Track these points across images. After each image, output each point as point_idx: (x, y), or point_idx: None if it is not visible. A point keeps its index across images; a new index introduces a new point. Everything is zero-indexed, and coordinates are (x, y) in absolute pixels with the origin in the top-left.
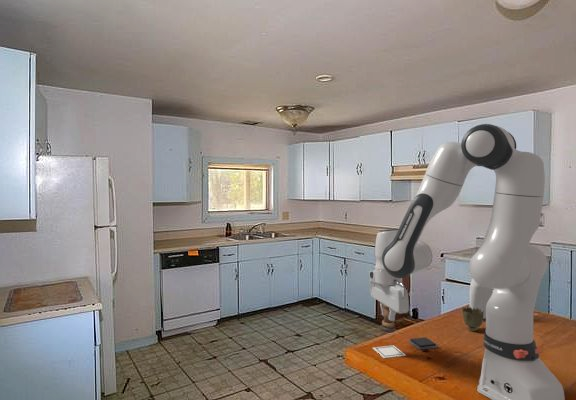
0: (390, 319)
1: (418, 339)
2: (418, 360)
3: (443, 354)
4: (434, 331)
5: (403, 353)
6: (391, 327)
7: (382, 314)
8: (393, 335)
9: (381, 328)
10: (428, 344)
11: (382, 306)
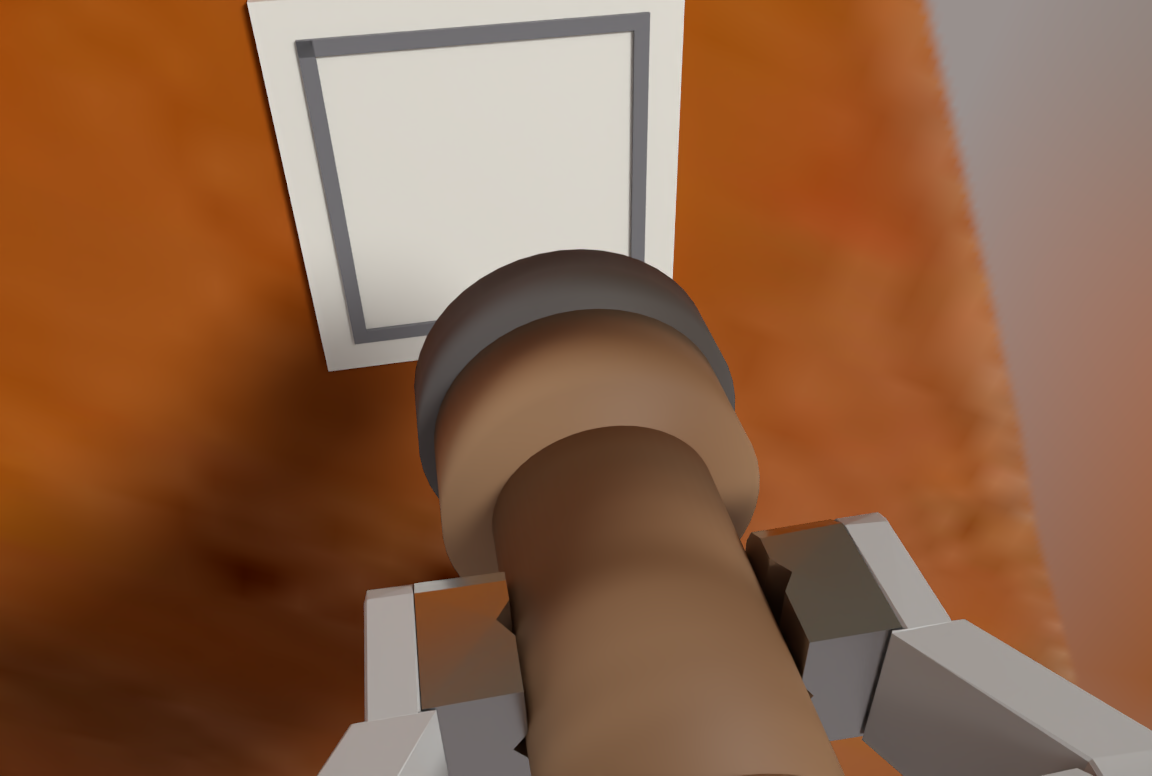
0: (371, 624)
1: None
2: (170, 456)
3: (332, 708)
4: (860, 767)
5: (383, 357)
6: (435, 476)
7: (848, 534)
8: (960, 425)
9: (619, 267)
10: None
11: (1019, 752)
